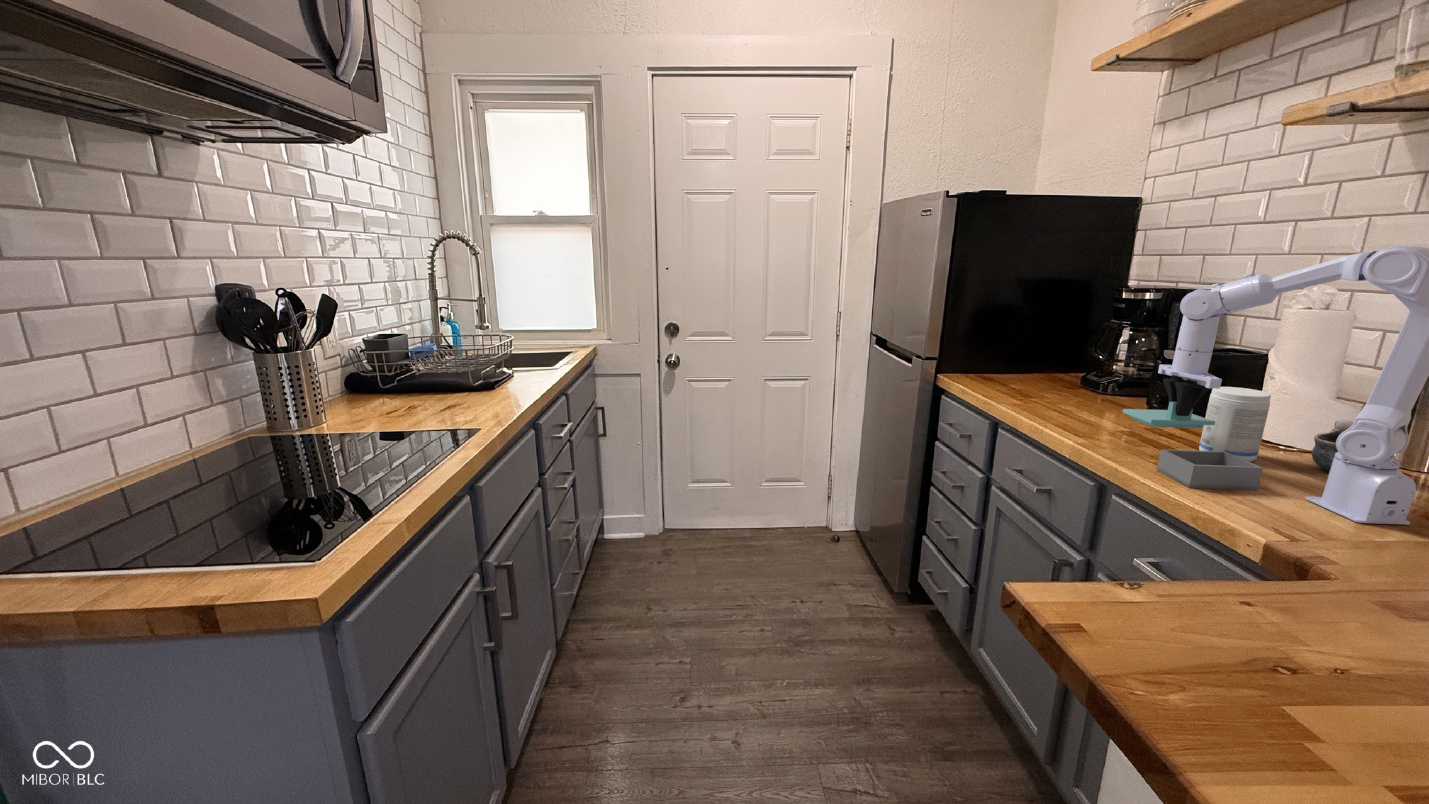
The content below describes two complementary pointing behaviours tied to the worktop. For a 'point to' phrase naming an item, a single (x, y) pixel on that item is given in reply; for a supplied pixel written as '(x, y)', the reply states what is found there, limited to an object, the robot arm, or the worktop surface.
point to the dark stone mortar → (1328, 444)
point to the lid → (1167, 418)
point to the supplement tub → (1236, 421)
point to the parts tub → (1209, 469)
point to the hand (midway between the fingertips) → (1179, 414)
